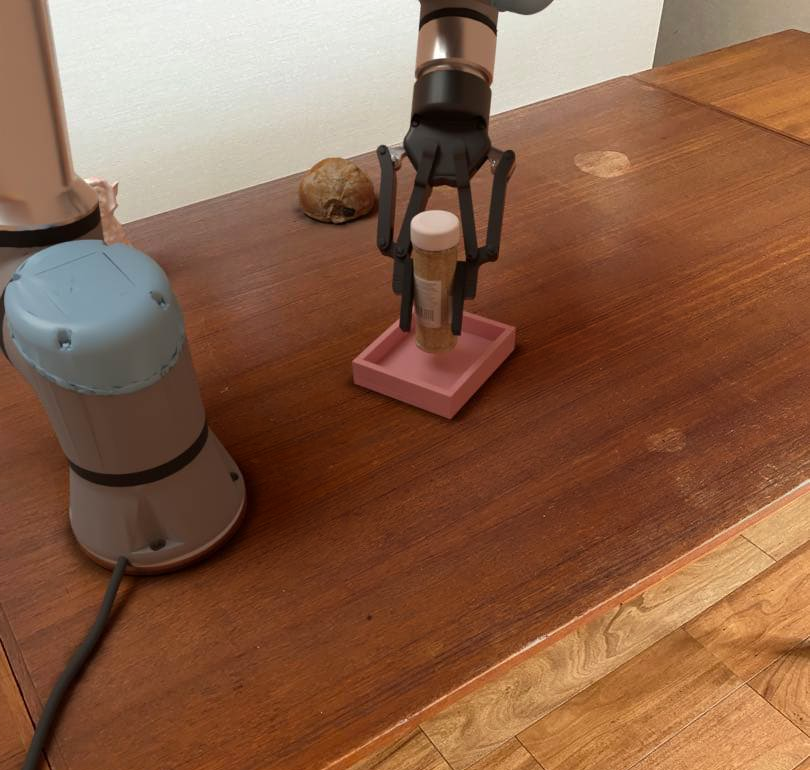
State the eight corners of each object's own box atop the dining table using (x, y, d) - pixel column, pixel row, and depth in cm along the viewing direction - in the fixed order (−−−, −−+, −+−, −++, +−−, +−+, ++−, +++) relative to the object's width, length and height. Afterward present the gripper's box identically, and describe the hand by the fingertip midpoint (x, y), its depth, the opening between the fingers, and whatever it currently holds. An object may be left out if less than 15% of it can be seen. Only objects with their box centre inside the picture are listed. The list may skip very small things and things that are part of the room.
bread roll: (311, 250, 115) (314, 209, 108) (285, 189, 118) (286, 145, 111) (380, 233, 118) (387, 192, 110) (353, 174, 121) (358, 130, 113)
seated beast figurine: (80, 303, 102) (46, 205, 93) (72, 268, 107) (39, 172, 98) (161, 286, 104) (135, 188, 95) (148, 252, 109) (122, 157, 100)
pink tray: (450, 419, 85) (450, 397, 83) (353, 383, 90) (351, 361, 88) (514, 349, 93) (516, 327, 91) (422, 319, 97) (421, 297, 95)
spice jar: (466, 346, 89) (470, 222, 79) (430, 361, 87) (428, 237, 77) (441, 325, 91) (441, 203, 81) (405, 340, 90) (400, 217, 80)
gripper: (543, 105, 85) (520, 344, 86) (370, 100, 87) (350, 332, 89) (545, 67, 78) (519, 329, 79) (356, 62, 80) (334, 317, 81)
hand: (430, 330), depth 84 cm, fingers closed on spice jar, 4 cm apart
